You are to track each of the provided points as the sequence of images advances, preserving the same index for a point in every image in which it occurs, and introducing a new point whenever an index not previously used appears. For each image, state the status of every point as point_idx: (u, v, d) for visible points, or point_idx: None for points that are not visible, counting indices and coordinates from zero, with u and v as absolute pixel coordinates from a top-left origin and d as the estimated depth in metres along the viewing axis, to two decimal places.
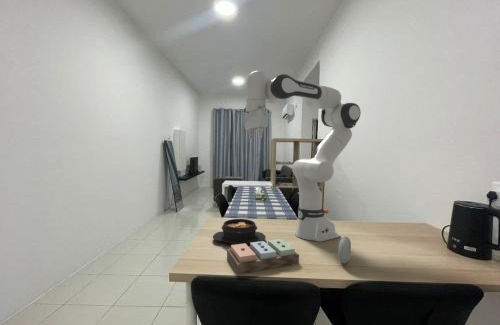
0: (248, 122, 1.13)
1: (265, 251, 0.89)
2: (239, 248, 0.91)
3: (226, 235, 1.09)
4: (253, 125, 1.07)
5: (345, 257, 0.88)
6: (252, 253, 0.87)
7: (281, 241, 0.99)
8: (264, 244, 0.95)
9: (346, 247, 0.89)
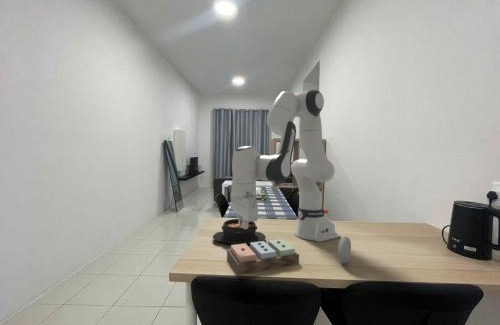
0: (235, 204, 0.93)
1: (265, 251, 0.89)
2: (239, 248, 0.91)
3: (226, 235, 1.09)
4: (240, 213, 0.87)
5: (345, 257, 0.88)
6: (252, 253, 0.87)
7: (281, 241, 0.99)
8: (264, 244, 0.95)
9: (346, 247, 0.89)
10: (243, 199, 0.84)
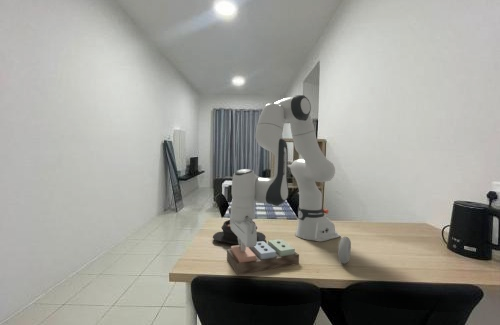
0: (234, 226, 0.93)
1: (265, 251, 0.89)
2: (239, 249, 0.91)
3: (226, 235, 1.09)
4: (239, 236, 0.87)
5: (345, 257, 0.88)
6: (252, 254, 0.87)
7: (281, 241, 0.99)
8: (264, 244, 0.95)
9: (346, 247, 0.89)
10: (242, 224, 0.84)
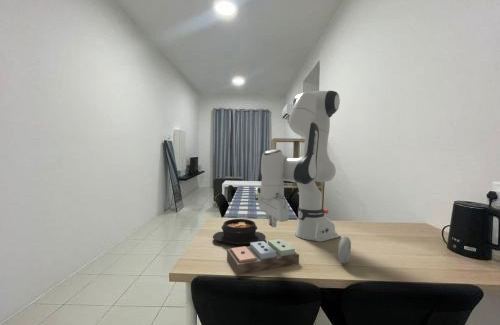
0: (263, 204, 0.98)
1: (265, 251, 0.89)
2: (239, 251, 0.91)
3: (226, 235, 1.09)
4: (270, 213, 0.92)
5: (345, 257, 0.88)
6: (252, 256, 0.87)
7: (281, 241, 0.99)
8: (264, 244, 0.95)
9: (346, 247, 0.89)
10: (273, 200, 0.89)
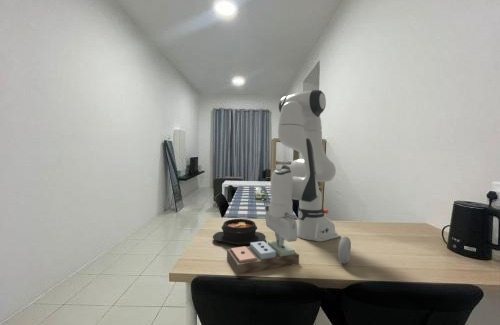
0: (271, 222, 0.99)
1: (265, 251, 0.89)
2: (239, 251, 0.91)
3: (226, 235, 1.09)
4: (278, 232, 0.93)
5: (345, 257, 0.88)
6: (252, 256, 0.87)
7: None
8: (264, 244, 0.95)
9: (346, 247, 0.89)
10: (282, 220, 0.90)
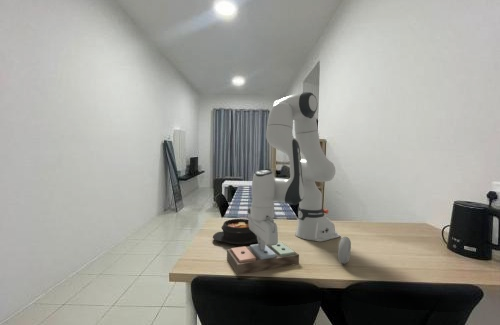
0: (253, 225, 0.96)
1: (265, 253, 0.89)
2: (239, 251, 0.91)
3: (226, 235, 1.09)
4: (259, 235, 0.90)
5: (345, 257, 0.88)
6: (252, 256, 0.87)
7: (281, 244, 0.99)
8: None
9: (346, 247, 0.89)
10: (263, 223, 0.87)
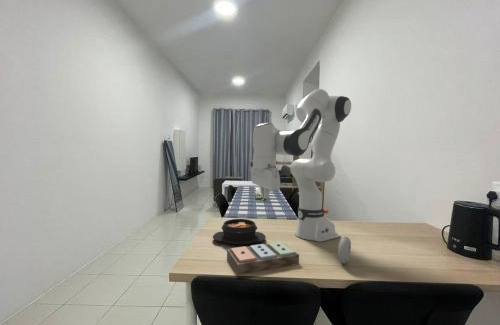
0: (256, 177, 1.01)
1: (265, 254, 0.89)
2: (239, 251, 0.91)
3: (226, 235, 1.09)
4: (262, 184, 0.95)
5: (345, 257, 0.88)
6: (252, 256, 0.87)
7: (281, 244, 0.99)
8: (264, 247, 0.95)
9: (346, 247, 0.89)
10: (265, 171, 0.91)
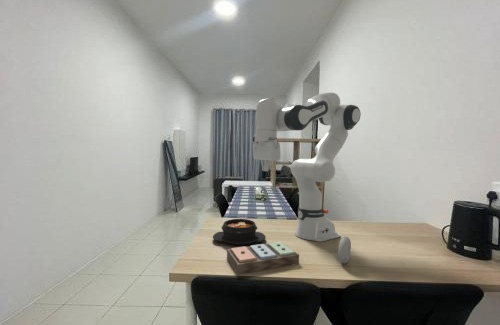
0: (257, 152, 1.04)
1: (265, 254, 0.89)
2: (239, 251, 0.91)
3: (226, 235, 1.09)
4: (263, 157, 0.98)
5: (345, 257, 0.88)
6: (252, 256, 0.87)
7: (281, 244, 0.99)
8: (264, 247, 0.95)
9: (346, 247, 0.89)
10: (266, 143, 0.95)
